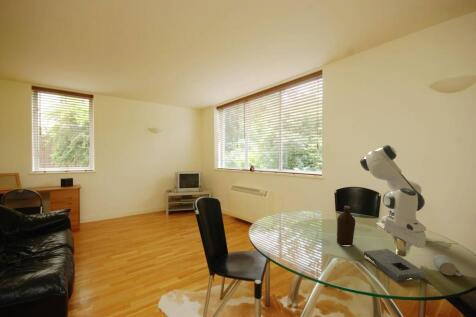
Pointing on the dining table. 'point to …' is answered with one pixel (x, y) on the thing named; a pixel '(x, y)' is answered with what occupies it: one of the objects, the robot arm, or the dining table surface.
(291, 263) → the dining table surface
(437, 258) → the ceramic mug
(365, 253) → the metal jig
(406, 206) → the robot arm
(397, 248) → the brass bushing
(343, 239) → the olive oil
